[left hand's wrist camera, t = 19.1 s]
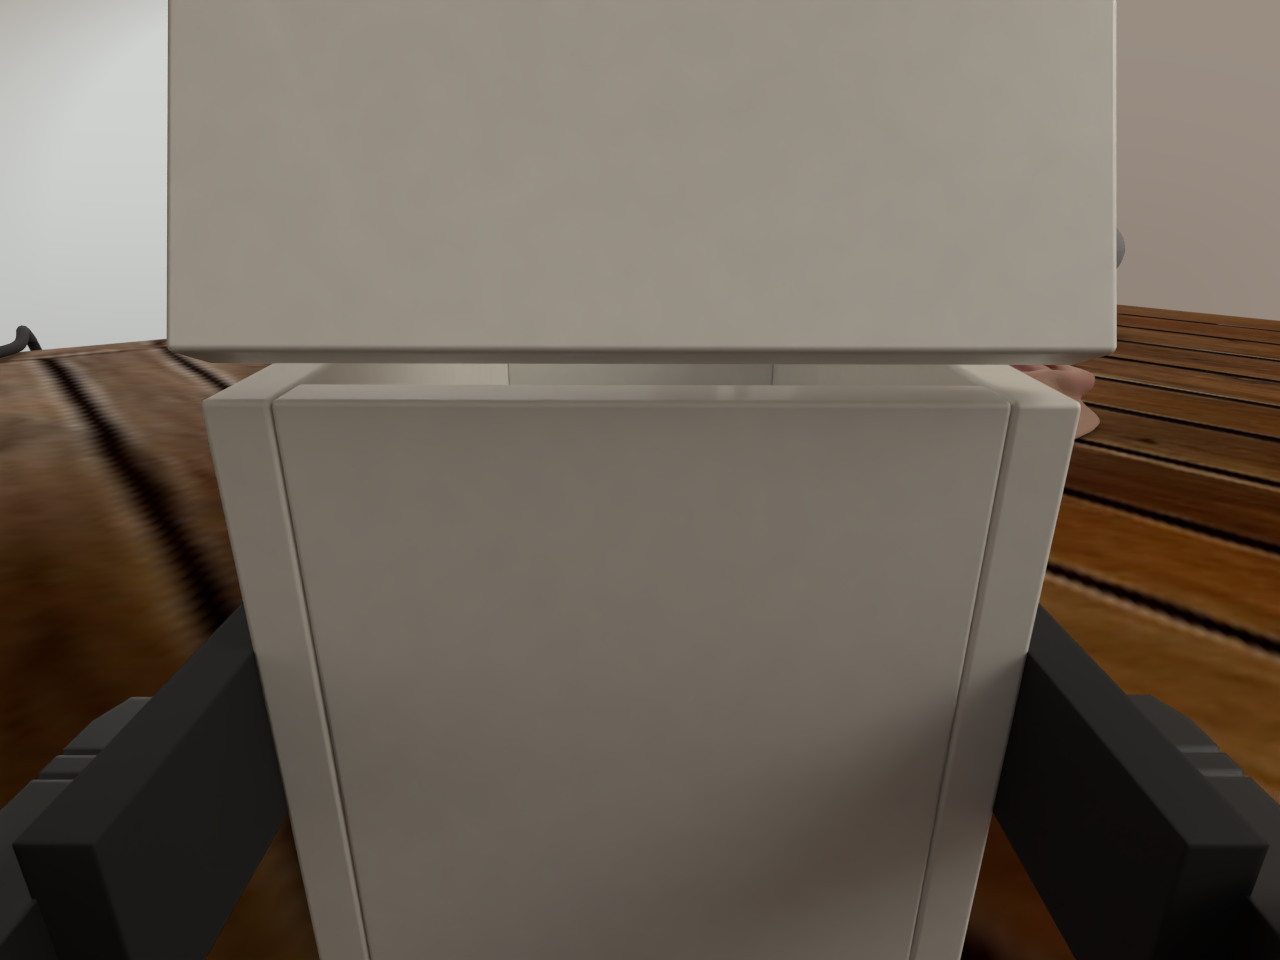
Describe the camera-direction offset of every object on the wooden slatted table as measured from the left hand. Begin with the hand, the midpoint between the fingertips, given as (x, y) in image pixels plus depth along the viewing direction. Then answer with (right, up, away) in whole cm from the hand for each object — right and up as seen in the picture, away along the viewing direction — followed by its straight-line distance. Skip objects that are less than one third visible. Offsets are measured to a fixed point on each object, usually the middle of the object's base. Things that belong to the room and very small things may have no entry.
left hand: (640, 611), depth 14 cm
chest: (0, -4, +7) cm, 8 cm away
